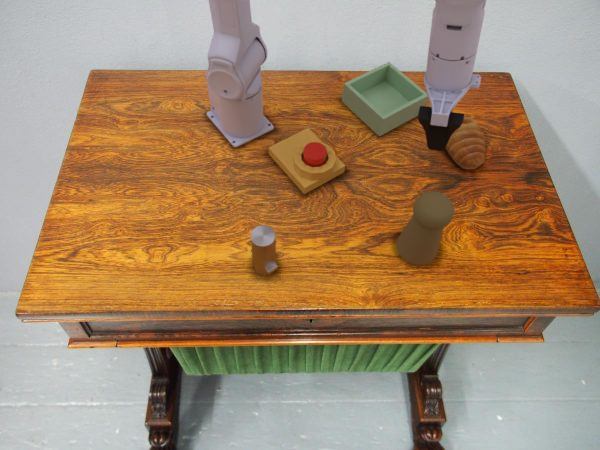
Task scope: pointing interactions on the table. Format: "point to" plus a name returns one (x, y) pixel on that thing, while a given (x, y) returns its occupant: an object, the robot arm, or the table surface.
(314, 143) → the button
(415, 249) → the olive brown pawn
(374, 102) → the green square tray
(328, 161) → the panel
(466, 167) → the pastry
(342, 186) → the table surface
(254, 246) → the tall narrow cylinder
